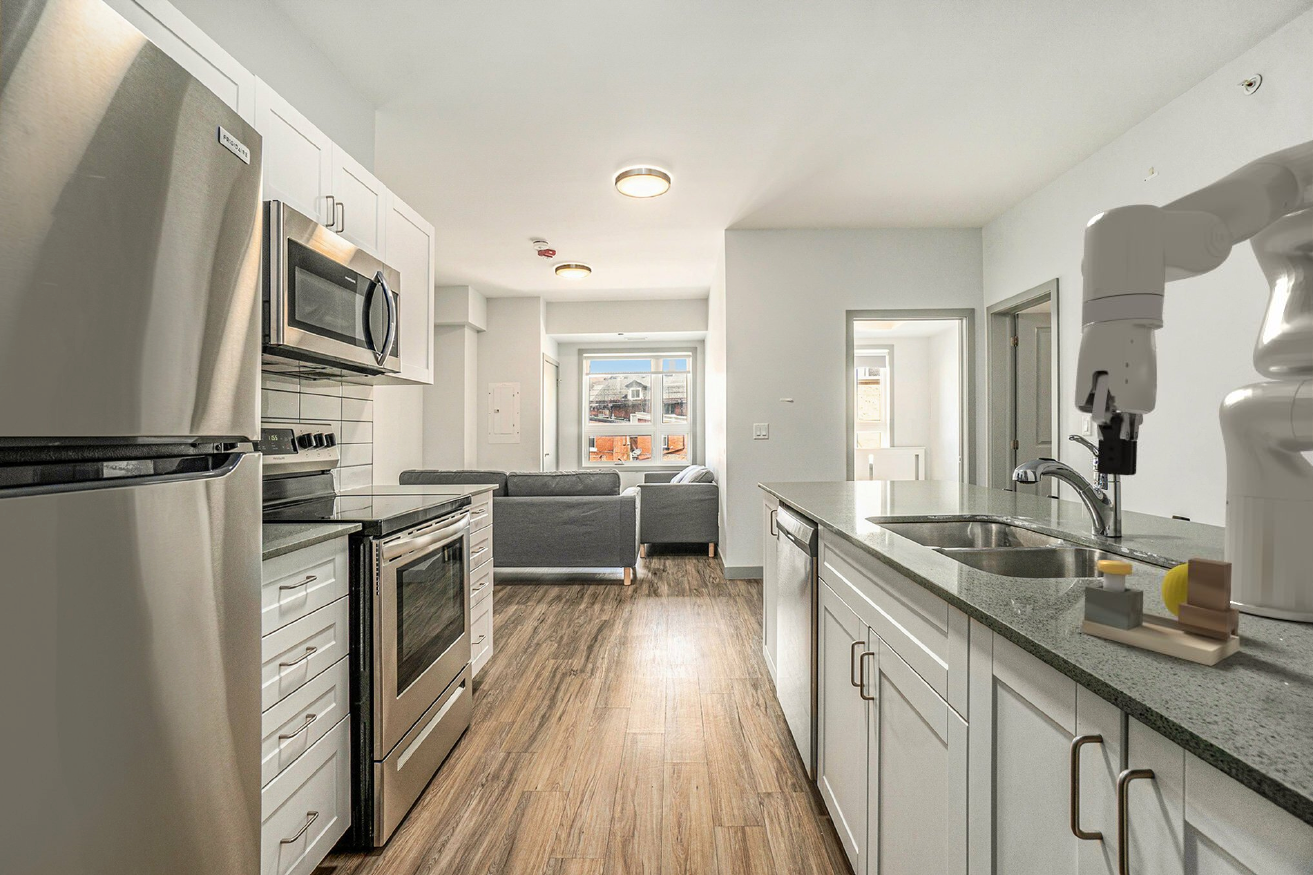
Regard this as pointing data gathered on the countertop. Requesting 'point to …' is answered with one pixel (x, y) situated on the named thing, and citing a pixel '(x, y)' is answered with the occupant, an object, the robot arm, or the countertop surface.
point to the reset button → (1114, 574)
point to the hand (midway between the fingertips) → (1116, 474)
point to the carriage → (1209, 600)
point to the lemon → (1175, 588)
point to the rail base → (1148, 627)
